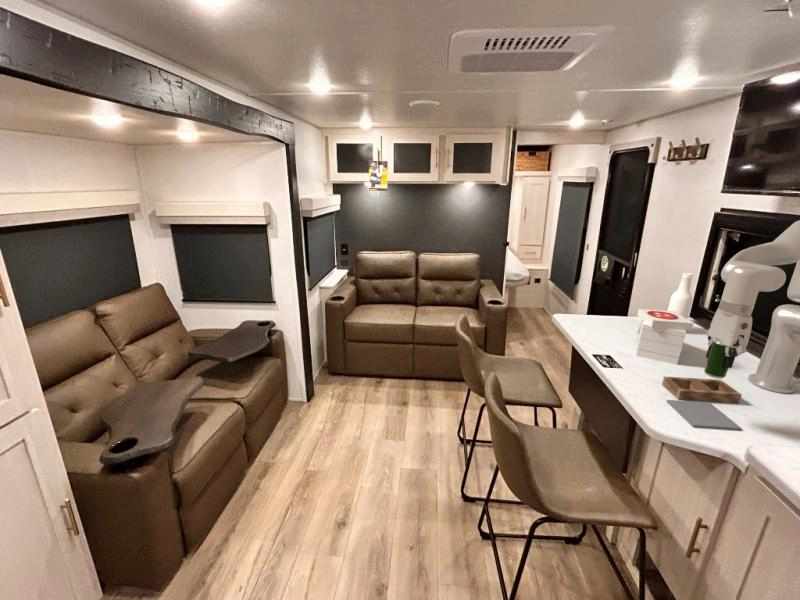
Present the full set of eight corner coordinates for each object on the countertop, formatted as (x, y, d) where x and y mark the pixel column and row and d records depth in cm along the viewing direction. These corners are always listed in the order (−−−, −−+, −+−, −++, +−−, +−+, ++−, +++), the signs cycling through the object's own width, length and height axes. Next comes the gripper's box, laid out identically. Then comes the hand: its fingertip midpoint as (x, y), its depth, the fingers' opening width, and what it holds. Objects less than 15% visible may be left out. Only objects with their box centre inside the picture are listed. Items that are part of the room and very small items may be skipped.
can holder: (718, 388, 140) (720, 379, 139) (738, 403, 130) (741, 394, 129) (661, 384, 141) (664, 376, 140) (678, 399, 132) (680, 390, 131)
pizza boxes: (677, 342, 179) (687, 307, 173) (683, 368, 155) (694, 327, 149) (631, 333, 189) (639, 299, 183) (629, 356, 164) (638, 317, 159)
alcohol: (658, 327, 198) (672, 271, 189) (673, 326, 199) (687, 271, 190) (673, 333, 190) (688, 276, 180) (687, 332, 191) (704, 275, 182)
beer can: (705, 376, 118) (715, 341, 114) (702, 369, 122) (712, 335, 118) (726, 380, 115) (738, 345, 111) (723, 373, 120) (734, 338, 116)
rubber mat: (709, 404, 129) (709, 402, 129) (740, 430, 116) (741, 428, 116) (666, 401, 130) (667, 399, 130) (693, 427, 117) (693, 424, 117)
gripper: (773, 318, 103) (753, 377, 109) (727, 299, 120) (711, 351, 125) (744, 317, 104) (725, 375, 109) (702, 298, 120) (687, 350, 126)
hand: (718, 362), depth 117 cm, fingers closed on beer can, 5 cm apart
